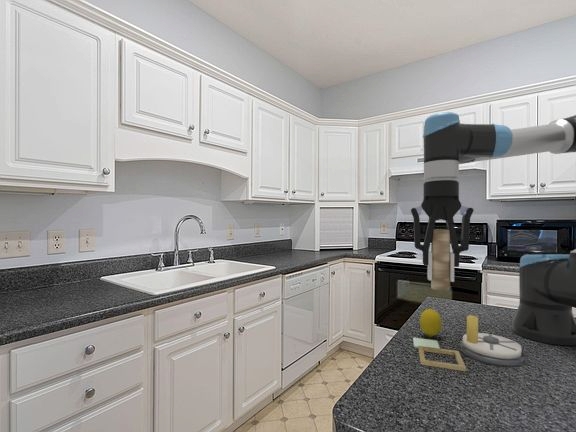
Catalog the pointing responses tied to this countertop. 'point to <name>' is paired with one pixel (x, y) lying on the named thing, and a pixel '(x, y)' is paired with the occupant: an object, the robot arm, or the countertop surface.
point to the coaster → (425, 343)
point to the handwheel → (489, 342)
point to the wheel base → (492, 358)
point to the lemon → (430, 322)
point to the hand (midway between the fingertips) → (440, 279)
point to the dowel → (440, 260)
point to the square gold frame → (440, 364)
